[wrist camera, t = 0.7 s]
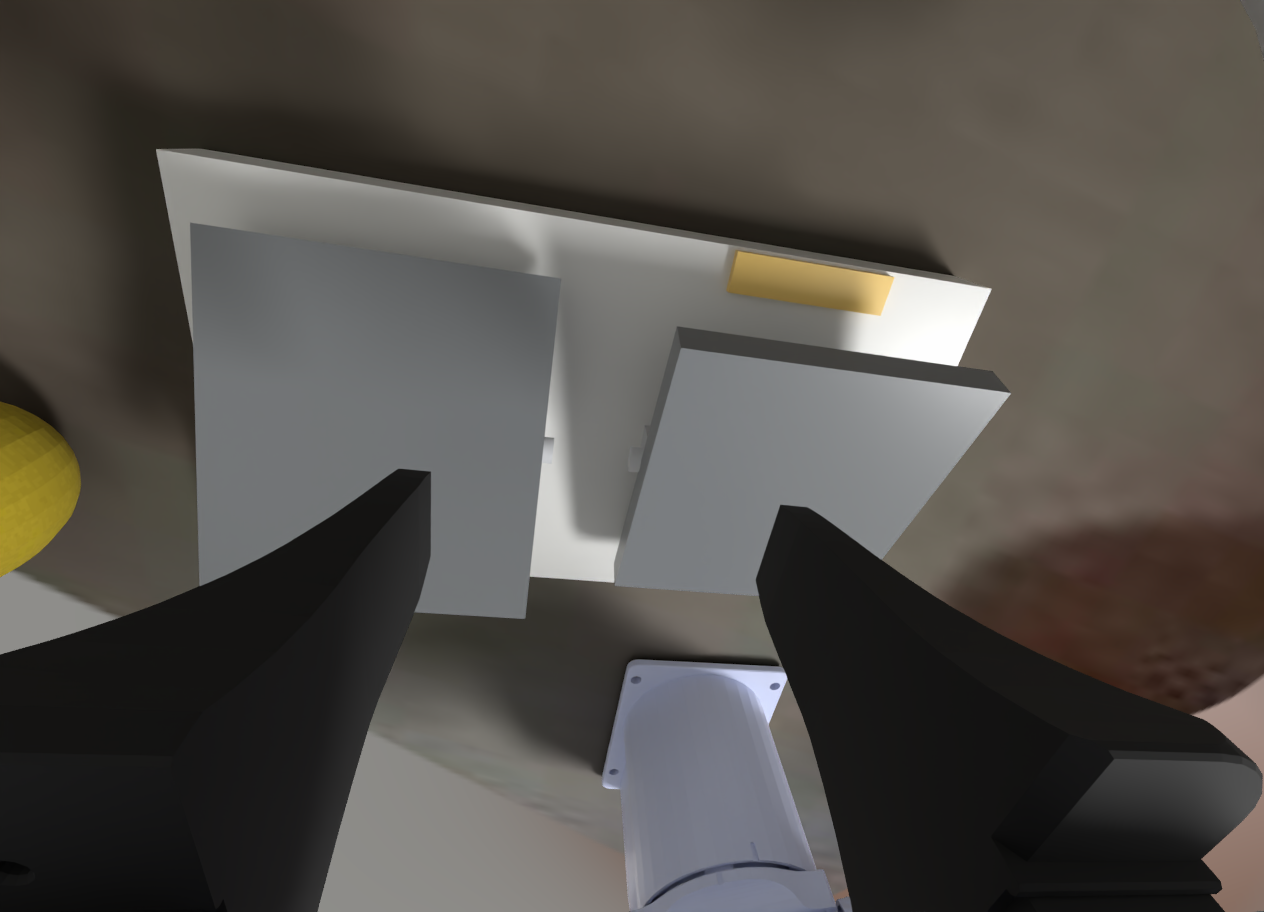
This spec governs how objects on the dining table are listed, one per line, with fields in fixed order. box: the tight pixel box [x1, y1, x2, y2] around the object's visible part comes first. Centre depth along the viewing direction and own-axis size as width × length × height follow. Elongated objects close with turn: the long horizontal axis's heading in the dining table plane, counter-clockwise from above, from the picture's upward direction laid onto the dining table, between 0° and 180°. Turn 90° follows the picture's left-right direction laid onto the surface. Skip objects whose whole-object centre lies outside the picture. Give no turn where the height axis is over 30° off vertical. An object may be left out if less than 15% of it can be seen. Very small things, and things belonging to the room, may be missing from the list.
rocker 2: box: [614, 326, 1011, 596], centre depth 19 cm, size 10×10×2 cm
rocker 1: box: [190, 223, 561, 619], centre depth 17 cm, size 10×10×2 cm
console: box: [156, 148, 991, 582], centre depth 20 cm, size 13×24×3 cm, turn 80°
